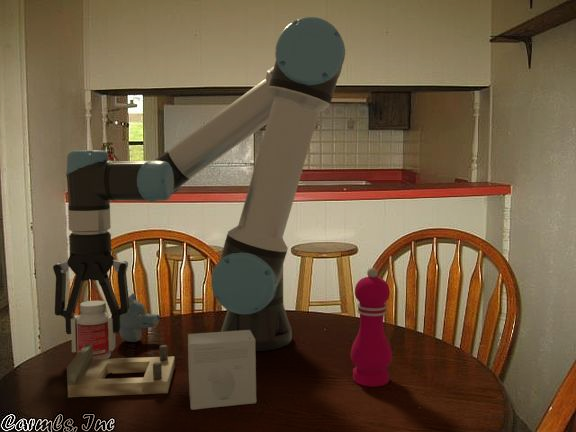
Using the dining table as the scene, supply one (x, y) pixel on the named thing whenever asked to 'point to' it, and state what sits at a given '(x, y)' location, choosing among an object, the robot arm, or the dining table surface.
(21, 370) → the dining table surface
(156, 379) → the jig
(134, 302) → the wolf head
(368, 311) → the pepper mill
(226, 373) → the skincare box
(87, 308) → the pill bottle
